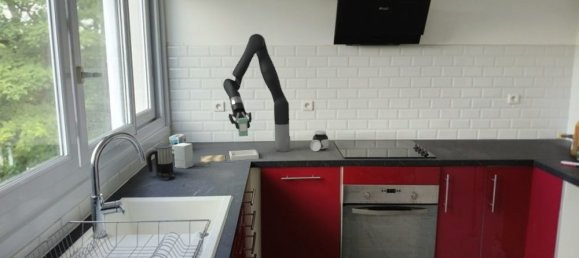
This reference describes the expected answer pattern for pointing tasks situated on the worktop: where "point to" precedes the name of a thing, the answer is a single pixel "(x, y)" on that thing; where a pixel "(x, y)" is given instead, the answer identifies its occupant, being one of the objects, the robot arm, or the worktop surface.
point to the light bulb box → (177, 140)
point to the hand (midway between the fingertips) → (243, 127)
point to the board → (212, 158)
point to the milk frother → (161, 160)
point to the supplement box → (183, 155)
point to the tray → (243, 155)
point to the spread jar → (320, 141)
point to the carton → (242, 127)
